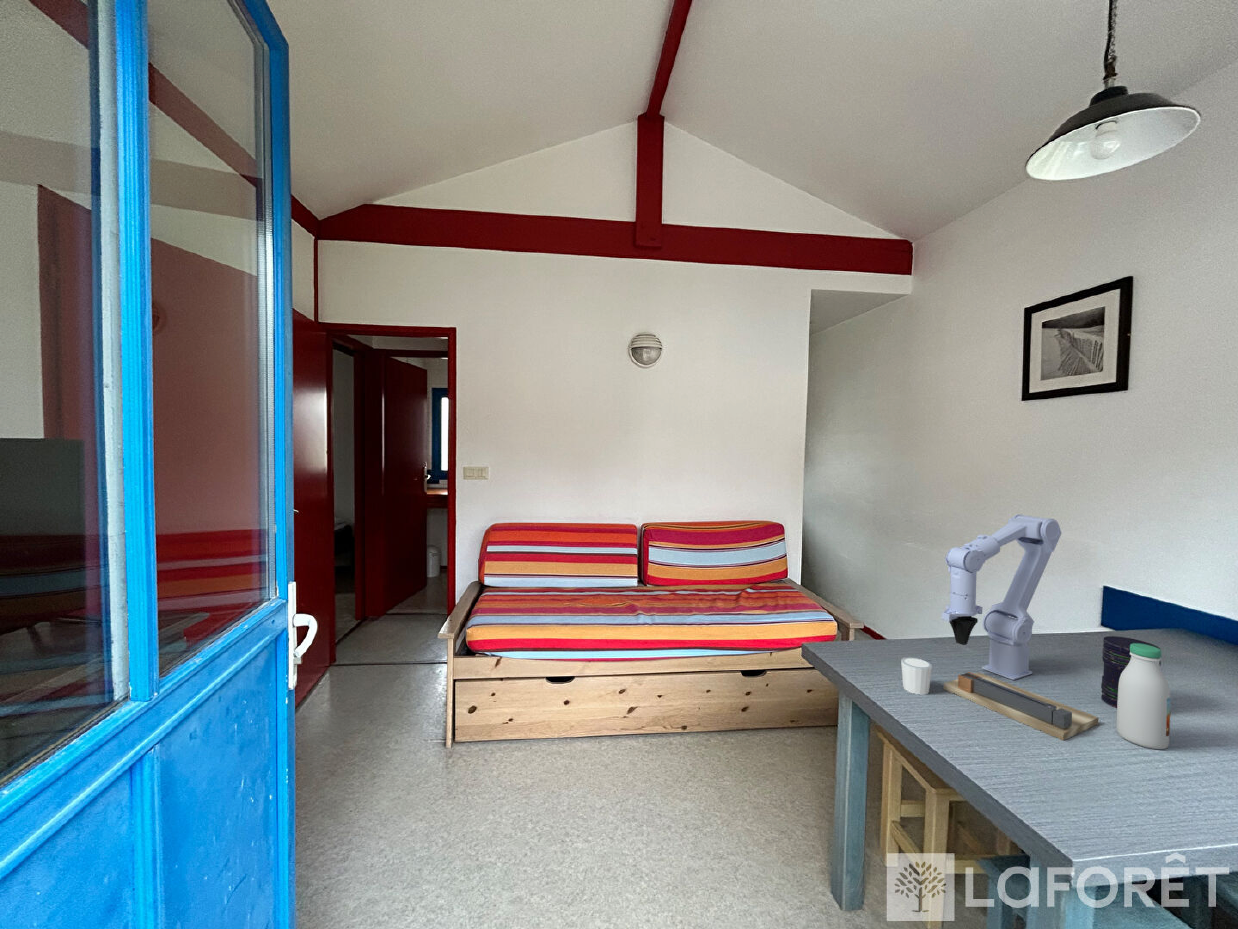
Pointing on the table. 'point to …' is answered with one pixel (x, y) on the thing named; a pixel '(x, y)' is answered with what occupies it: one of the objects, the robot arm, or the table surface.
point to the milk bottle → (1144, 699)
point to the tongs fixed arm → (1016, 702)
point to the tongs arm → (1010, 690)
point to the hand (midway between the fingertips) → (961, 643)
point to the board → (1078, 717)
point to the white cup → (916, 675)
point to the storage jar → (1115, 665)
